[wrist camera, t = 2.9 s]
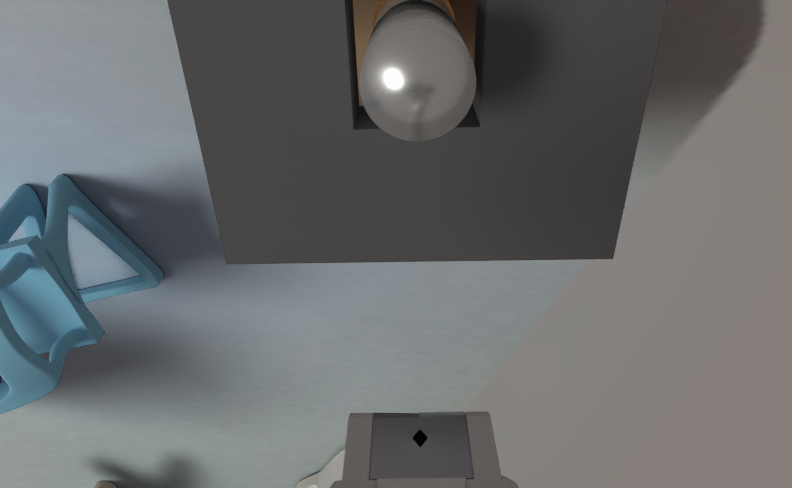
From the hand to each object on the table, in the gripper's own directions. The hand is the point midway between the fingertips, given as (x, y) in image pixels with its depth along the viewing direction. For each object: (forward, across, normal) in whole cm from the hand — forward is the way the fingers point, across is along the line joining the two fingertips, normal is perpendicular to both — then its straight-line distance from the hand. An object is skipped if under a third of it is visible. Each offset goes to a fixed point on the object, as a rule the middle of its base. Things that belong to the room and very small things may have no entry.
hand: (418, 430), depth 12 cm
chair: (+21, +21, +7) cm, 31 cm away
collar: (+11, 0, -6) cm, 12 cm away
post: (+20, 0, -6) cm, 20 cm away
